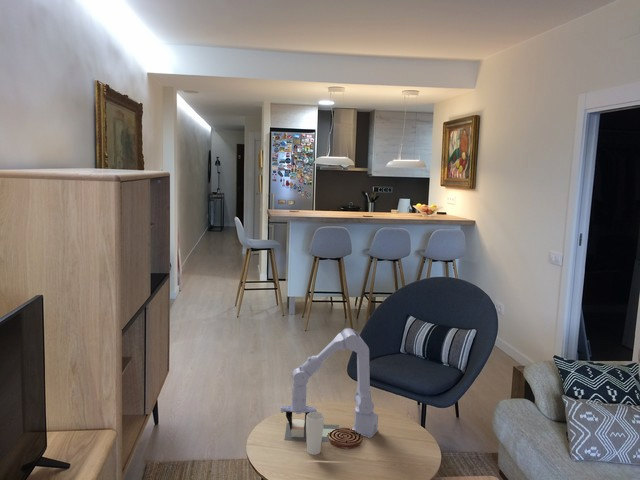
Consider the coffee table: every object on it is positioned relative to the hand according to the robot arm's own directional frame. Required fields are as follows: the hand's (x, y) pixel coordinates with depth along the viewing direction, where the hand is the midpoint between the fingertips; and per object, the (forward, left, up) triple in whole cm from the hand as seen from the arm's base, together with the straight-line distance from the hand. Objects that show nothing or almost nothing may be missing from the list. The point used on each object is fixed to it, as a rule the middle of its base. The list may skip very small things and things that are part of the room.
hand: (298, 429), depth 218 cm
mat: (-5, -3, -2) cm, 6 cm away
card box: (0, 0, -1) cm, 1 cm away
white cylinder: (-13, +9, -2) cm, 16 cm away
